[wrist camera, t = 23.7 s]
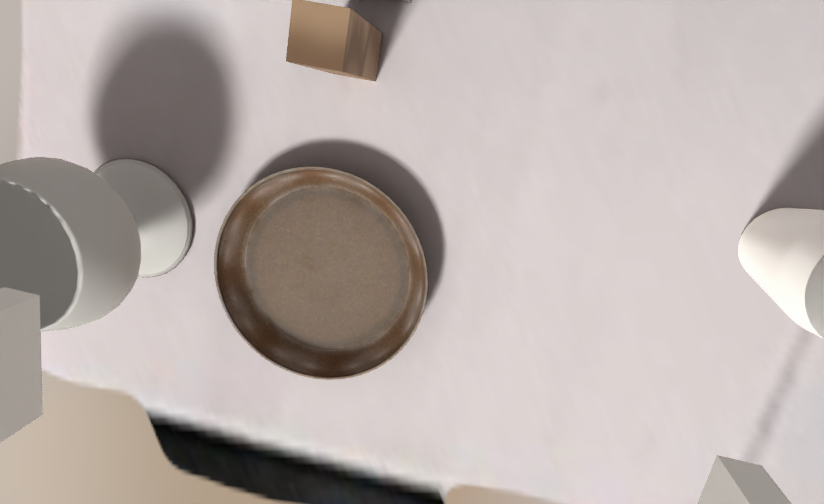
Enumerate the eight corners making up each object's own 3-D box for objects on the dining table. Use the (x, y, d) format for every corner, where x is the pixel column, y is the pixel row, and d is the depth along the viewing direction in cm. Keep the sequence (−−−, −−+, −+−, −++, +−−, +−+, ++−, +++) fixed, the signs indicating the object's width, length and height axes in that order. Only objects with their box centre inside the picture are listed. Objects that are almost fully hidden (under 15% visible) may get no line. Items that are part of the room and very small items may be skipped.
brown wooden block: (338, 25, 45) (292, -2, 35) (382, 33, 45) (350, 8, 34) (332, 73, 46) (286, 61, 36) (375, 81, 46) (342, 71, 35)
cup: (713, 291, 46) (788, 350, 35) (732, 191, 44) (818, 218, 32) (824, 298, 45) (939, 361, 34) (849, 195, 43) (982, 225, 31)
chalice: (61, 246, 55) (-92, 293, 40) (95, 123, 51) (-61, 127, 36) (178, 307, 55) (67, 376, 40) (222, 189, 50) (116, 219, 36)
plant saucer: (192, 218, 52) (172, 224, 49) (371, 125, 47) (363, 126, 44) (289, 391, 55) (277, 407, 52) (466, 321, 51) (464, 335, 47)
